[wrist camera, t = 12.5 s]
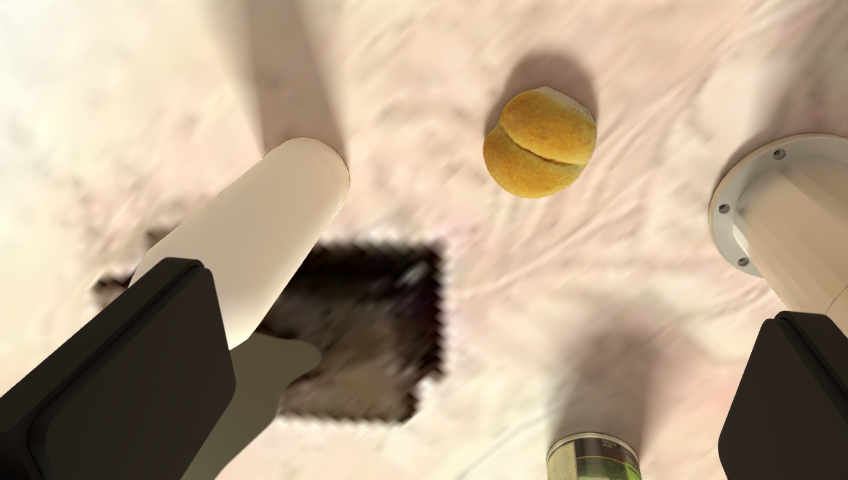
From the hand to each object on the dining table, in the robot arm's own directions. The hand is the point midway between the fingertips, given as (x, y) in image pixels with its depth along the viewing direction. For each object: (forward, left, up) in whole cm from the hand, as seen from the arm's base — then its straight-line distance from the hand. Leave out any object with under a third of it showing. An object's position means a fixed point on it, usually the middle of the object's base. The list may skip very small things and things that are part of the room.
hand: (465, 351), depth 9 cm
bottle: (+17, +12, -36) cm, 42 cm away
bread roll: (-3, +7, -37) cm, 38 cm away
